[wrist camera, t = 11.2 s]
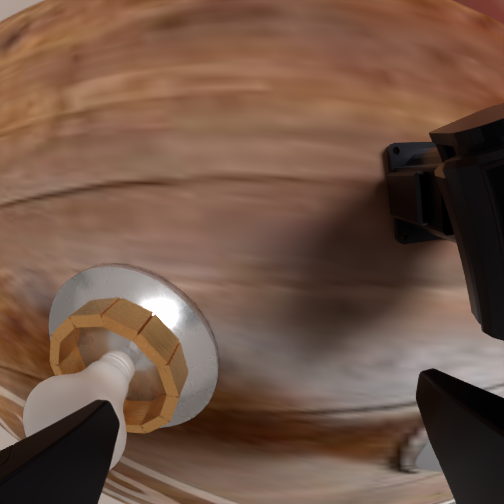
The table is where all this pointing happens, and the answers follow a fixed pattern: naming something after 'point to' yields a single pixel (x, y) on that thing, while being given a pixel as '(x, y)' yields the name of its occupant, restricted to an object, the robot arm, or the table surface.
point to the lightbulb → (82, 395)
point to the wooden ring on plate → (137, 341)
